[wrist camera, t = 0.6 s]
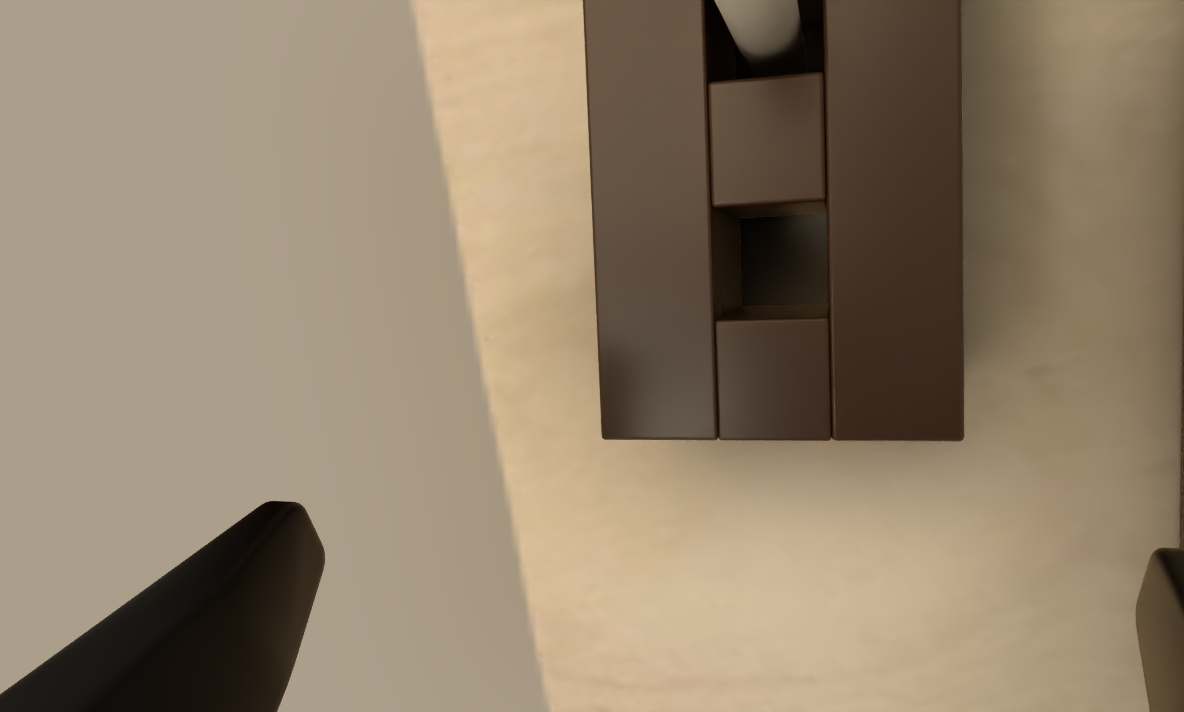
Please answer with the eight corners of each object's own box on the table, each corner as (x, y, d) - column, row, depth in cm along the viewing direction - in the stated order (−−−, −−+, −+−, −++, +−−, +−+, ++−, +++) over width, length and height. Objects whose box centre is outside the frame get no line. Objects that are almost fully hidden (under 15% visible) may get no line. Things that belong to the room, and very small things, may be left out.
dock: (930, -311, 19) (958, -497, 15) (936, 399, 21) (964, 442, 16) (627, -253, 21) (564, -404, 16) (652, 400, 22) (601, 439, 18)
